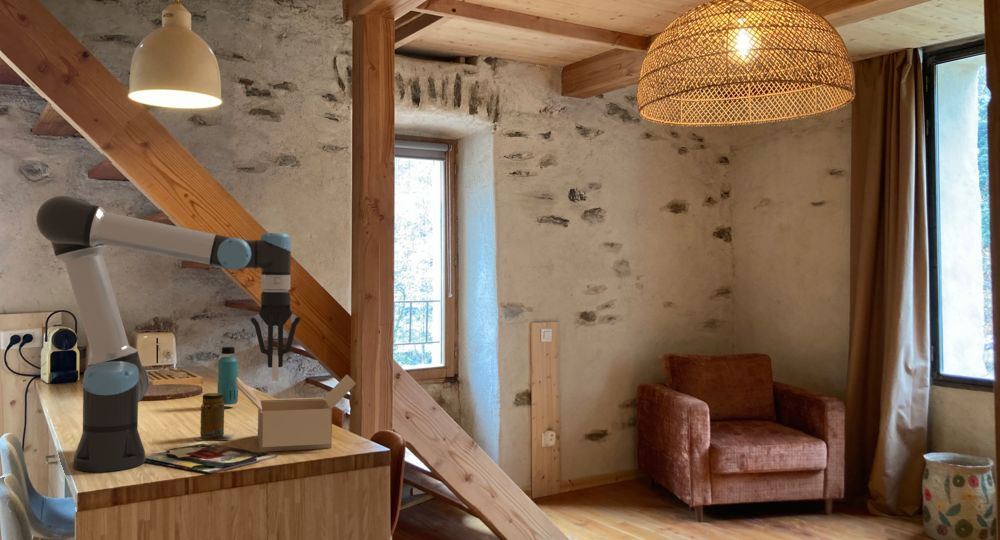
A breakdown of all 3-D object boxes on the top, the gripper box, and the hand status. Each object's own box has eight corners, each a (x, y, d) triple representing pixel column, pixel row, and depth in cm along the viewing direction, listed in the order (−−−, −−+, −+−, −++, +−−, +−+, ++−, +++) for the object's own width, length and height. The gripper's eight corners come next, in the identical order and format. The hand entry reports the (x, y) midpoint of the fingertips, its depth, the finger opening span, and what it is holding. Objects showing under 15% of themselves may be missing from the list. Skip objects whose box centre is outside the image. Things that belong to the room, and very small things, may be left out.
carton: (259, 451, 199) (260, 412, 199) (257, 438, 214) (258, 401, 214) (331, 448, 205) (332, 410, 205) (324, 434, 220) (325, 399, 220)
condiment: (202, 435, 217) (203, 392, 217) (234, 435, 218) (235, 392, 218) (195, 441, 210) (196, 396, 209) (227, 441, 210) (228, 396, 210)
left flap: (260, 411, 200) (236, 386, 198) (258, 401, 214) (235, 377, 212) (262, 410, 200) (237, 385, 198) (260, 399, 214) (237, 376, 212)
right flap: (330, 407, 205) (354, 382, 207) (323, 397, 220) (346, 374, 222) (331, 408, 206) (356, 383, 208) (325, 398, 220) (348, 375, 222)
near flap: (262, 411, 199) (262, 447, 196) (262, 411, 199) (262, 447, 196) (330, 408, 205) (331, 443, 202) (330, 408, 204) (331, 443, 202)
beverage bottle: (229, 410, 253) (230, 348, 253) (212, 408, 255) (213, 347, 255) (242, 406, 259) (243, 346, 259) (225, 405, 261) (226, 345, 261)
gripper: (250, 291, 202) (249, 382, 202) (302, 291, 206) (301, 380, 206) (249, 290, 209) (249, 378, 209) (299, 290, 213) (299, 376, 214)
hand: (275, 379), depth 208 cm, fingers closed
